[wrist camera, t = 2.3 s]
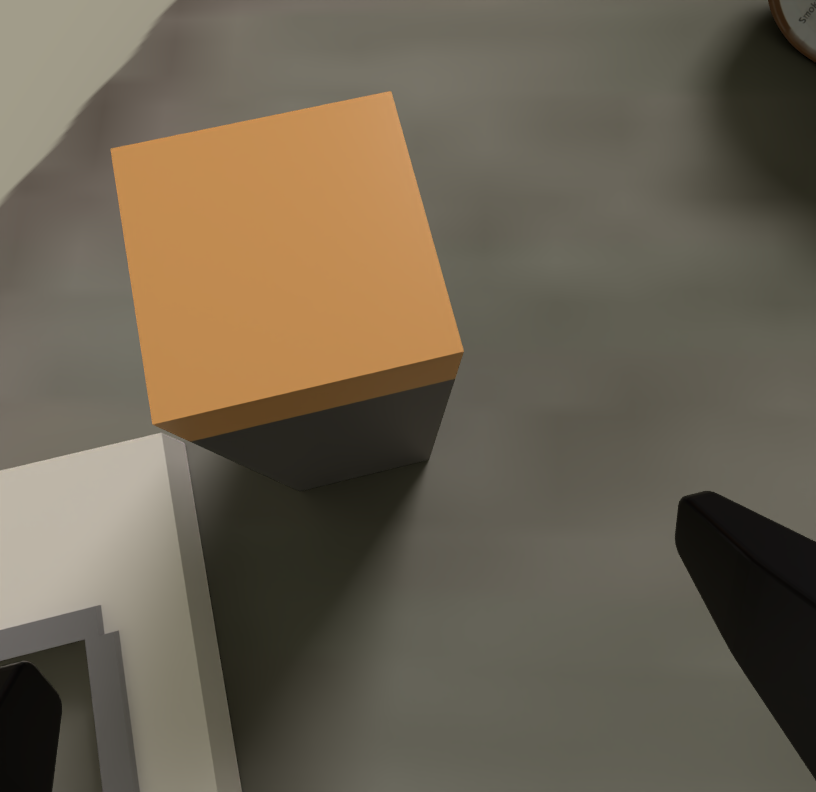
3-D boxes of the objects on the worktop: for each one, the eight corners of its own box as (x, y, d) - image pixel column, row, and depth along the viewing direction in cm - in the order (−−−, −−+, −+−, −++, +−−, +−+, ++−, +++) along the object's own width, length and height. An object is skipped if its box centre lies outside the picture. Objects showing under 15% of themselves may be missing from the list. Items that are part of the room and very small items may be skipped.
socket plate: (283, 1042, 17) (263, 1121, 14) (-170, 1179, 16) (-264, 1285, 14) (184, 442, 20) (157, 431, 18) (-186, 530, 20) (-262, 529, 17)
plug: (428, 459, 20) (463, 351, 9) (299, 491, 20) (153, 424, 8) (397, 337, 21) (391, 90, 10) (274, 366, 21) (110, 148, 9)
